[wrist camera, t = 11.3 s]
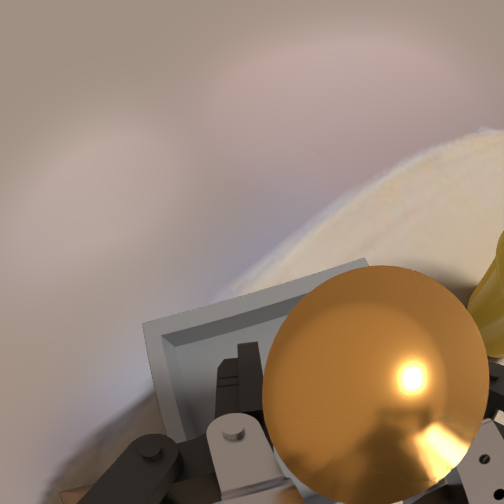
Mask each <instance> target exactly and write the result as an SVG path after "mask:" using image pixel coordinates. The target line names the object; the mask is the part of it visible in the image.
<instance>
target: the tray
mask: <svg viewBox="0 0 504 504" xmlns="http://www.w3.org/2000/svg"><path fill="white" fill-rule="evenodd" d="M368 266H369V265H368V263H367V261H366V259H365V258H361V259H358V260H355V261H352V262H349V263H346V264H343V265H340V266H337V267H334V268H331V269H328V270H325V271H322V272H319V273H316V274H312V275H309V276H306V277H303V278H300V279H296V280H293V281H290V282H287V283H284V284H280V285H277V286H274V287H270V288H267V289H264V290H260V291H257V292H254V293H250V294H247V295H243V296H240V297H236V298H233V299H230V300H226V301H222V302H219V303H215V304H212V305H208V306H205V307H201V308H197V309H194V310H190V311H186V312H183V313H179V314H176V315H172V316H168V317H164V318H161V319H156V320H153V321H148V322H145V323H143V324H142V325H143V332H144V337H145V343H146V348H147V353H148V359H149V364H150V369H151V374H152V378H153V383H154V387H155V392H156V396H157V400H158V404H159V408H160V412H161V416H162V420H163V424H164V427H165V431H166V434H167V436H168V437H170V438H171V439H173V440H174V441H175V443H180V442H184V441H188V440H192V439H195V438H197V437H200V436H201V435H203V434H205V433H206V432H207V429H208V426H209V425H210V424H211V423H212V422H213V421H214V419H215V401H216V388H217V387H216V383H217V368H218V367H219V365H220V364H221V362H222V361H223V360H224V359H229V358H238V352H237V344H239V343H248V342H256V341H258V347H259V353H260V359H261V365H262V371H263V377H264V369H265V366H266V362H267V358H268V354H269V351H270V348H271V346H272V343H273V341H274V338H275V336H276V334H277V332H278V331H279V329H280V327H281V325H282V323H283V322H284V320H285V319H286V318H287V316H288V315H289V313H290V312H291V311H292V309H293V308H294V307H295V306H296V305H297V304H298V303H299V302H300V301H301V300H302V299H303V298H304V297H305V296H306V295H307V294H308V293H309V292H311V291H312V290H313V289H314V288H316V287H317V286H319V285H320V284H322V283H323V282H325V281H327V280H328V279H330V278H332V277H334V276H337V275H339V274H341V273H343V272H347V271H350V270H353V269H356V268H362V267H368ZM273 450H274V455H275V457H276V459H277V461H278V463H279V465H280V467H281V470H282V472H283V473H284V475H285V477H286V478H288V477H289V478H291V479H292V481H293V482H294V484H295V485H296V487H297V489H298V491H299V492H300V494H301V496H302V498H303V500H304V502H305V503H306V504H344V503H340V502H337V501H334V500H331V499H328V498H326V497H324V496H322V495H320V494H318V493H316V492H314V491H313V490H311V489H310V488H308V487H307V486H306V485H304V484H303V483H302V482H300V481H299V480H298V479H297V478H296V477H295V476H294V475H293V474H292V473H291V472H290V470H289V469H288V468H287V467H286V465H285V464H284V462H283V461H282V460H281V458H280V457H279V455H278V453H277V451H276V449H275V447H274V446H273ZM213 504H223V502H222V501H220V502H217V503H213Z"/></svg>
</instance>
